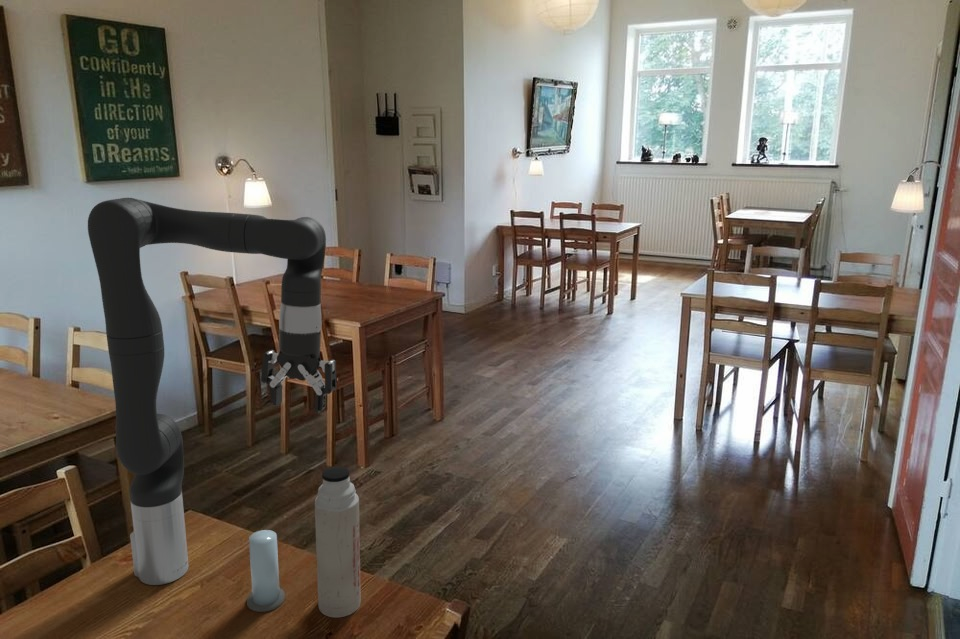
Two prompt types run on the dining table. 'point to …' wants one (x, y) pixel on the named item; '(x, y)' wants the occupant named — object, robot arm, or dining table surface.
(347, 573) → the thermos bottle
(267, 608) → the coaster
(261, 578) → the tall pale blue cylinder
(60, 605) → the dining table surface
